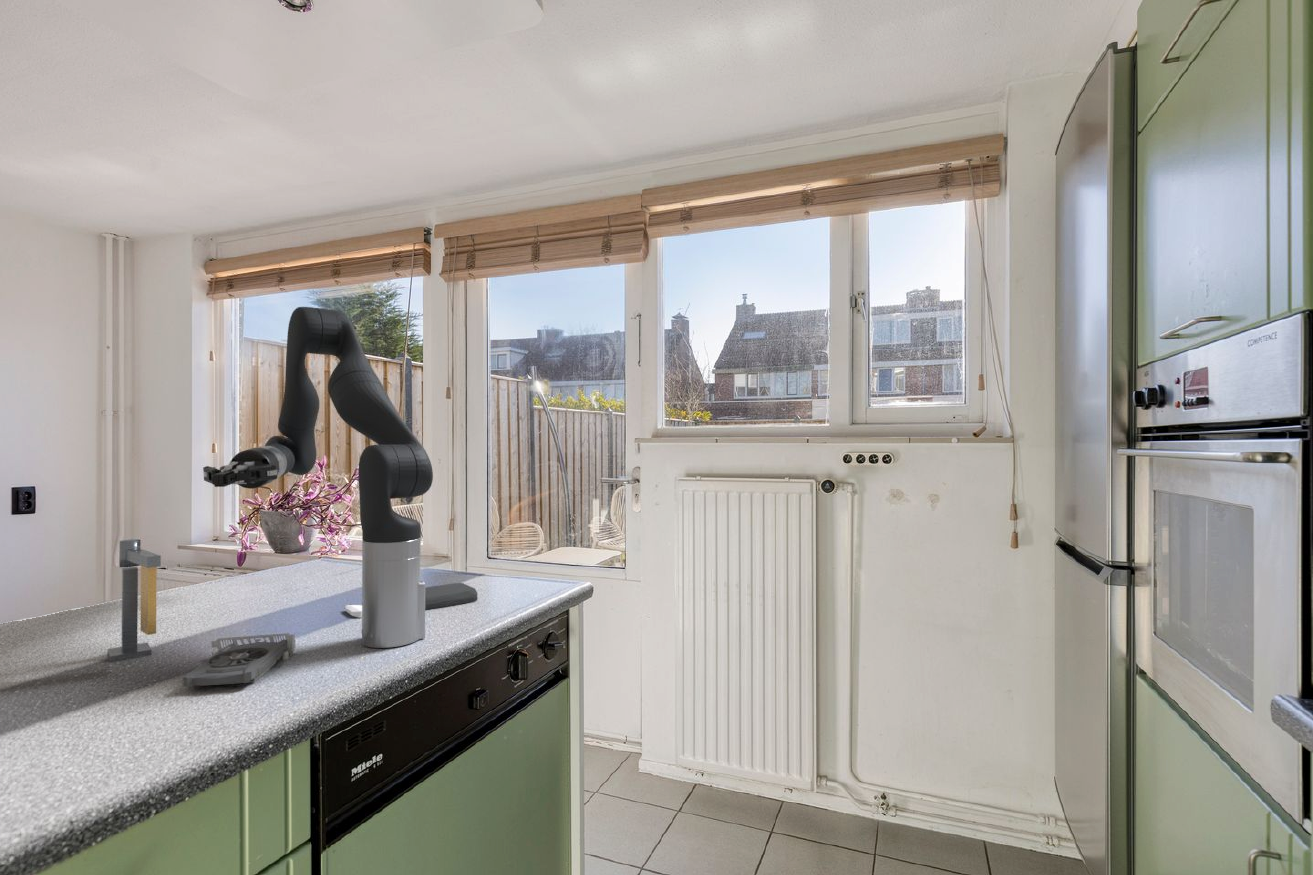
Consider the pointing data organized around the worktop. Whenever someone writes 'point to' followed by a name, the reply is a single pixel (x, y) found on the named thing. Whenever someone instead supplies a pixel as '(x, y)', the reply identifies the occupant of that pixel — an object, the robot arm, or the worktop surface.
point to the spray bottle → (436, 597)
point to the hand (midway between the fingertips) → (218, 480)
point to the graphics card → (242, 660)
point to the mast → (129, 620)
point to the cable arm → (143, 579)
